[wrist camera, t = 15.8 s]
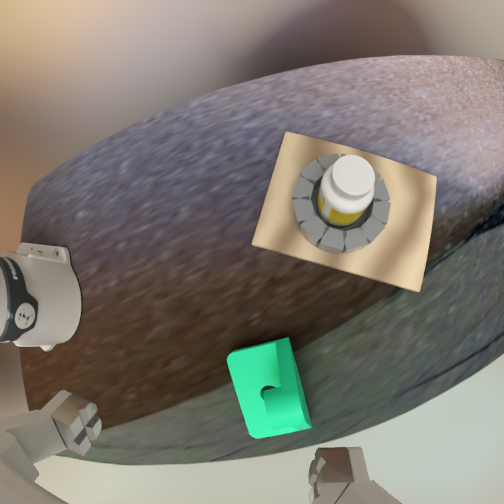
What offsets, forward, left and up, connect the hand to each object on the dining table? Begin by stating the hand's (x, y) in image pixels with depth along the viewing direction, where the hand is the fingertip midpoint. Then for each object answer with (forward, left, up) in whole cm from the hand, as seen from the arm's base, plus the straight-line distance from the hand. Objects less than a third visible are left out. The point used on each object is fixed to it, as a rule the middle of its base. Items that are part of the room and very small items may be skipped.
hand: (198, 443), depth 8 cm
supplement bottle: (+4, +17, -25) cm, 30 cm away
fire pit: (+4, +17, -25) cm, 31 cm away
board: (+6, +18, -27) cm, 33 cm away
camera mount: (+2, -6, -27) cm, 28 cm away
